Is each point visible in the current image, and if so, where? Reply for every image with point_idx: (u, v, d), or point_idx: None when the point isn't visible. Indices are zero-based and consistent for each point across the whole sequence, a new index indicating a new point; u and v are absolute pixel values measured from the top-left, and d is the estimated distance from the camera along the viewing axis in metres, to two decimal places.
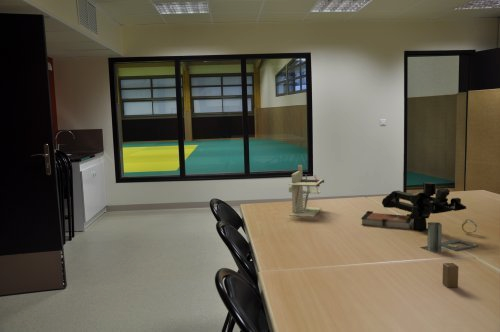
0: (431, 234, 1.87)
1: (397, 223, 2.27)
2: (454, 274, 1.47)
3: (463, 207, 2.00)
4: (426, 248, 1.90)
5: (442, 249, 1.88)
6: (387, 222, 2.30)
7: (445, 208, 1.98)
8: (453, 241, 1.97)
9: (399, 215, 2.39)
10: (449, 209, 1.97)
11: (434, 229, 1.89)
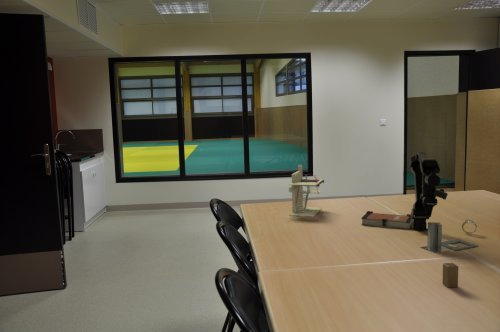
0: (431, 234, 1.87)
1: (397, 223, 2.27)
2: (454, 274, 1.47)
3: None
4: (426, 248, 1.90)
5: (442, 249, 1.88)
6: (387, 222, 2.30)
7: (430, 211, 1.97)
8: (453, 241, 1.97)
9: (399, 215, 2.39)
10: (429, 215, 1.98)
11: (434, 229, 1.89)
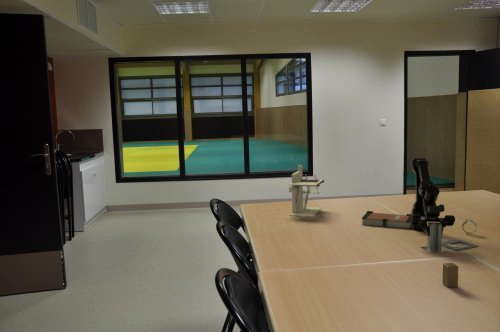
0: (431, 234, 1.87)
1: (397, 223, 2.28)
2: (454, 275, 1.47)
3: None
4: (426, 248, 1.90)
5: (442, 249, 1.88)
6: (387, 222, 2.30)
7: (425, 230, 1.90)
8: (453, 241, 1.97)
9: (399, 215, 2.40)
10: (427, 234, 1.88)
11: (434, 229, 1.89)
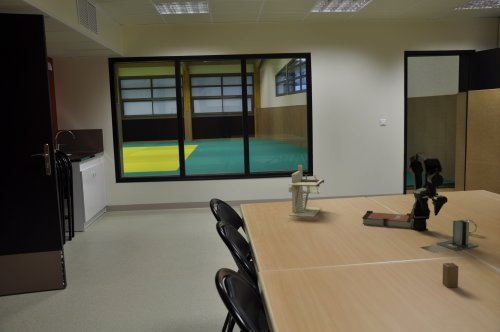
0: (460, 232, 1.89)
1: (398, 223, 2.29)
2: (454, 275, 1.47)
3: None
4: (426, 248, 1.90)
5: (442, 249, 1.88)
6: (388, 221, 2.31)
7: None
8: None
9: (399, 214, 2.41)
10: None
11: None
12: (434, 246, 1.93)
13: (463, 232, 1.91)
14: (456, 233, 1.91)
